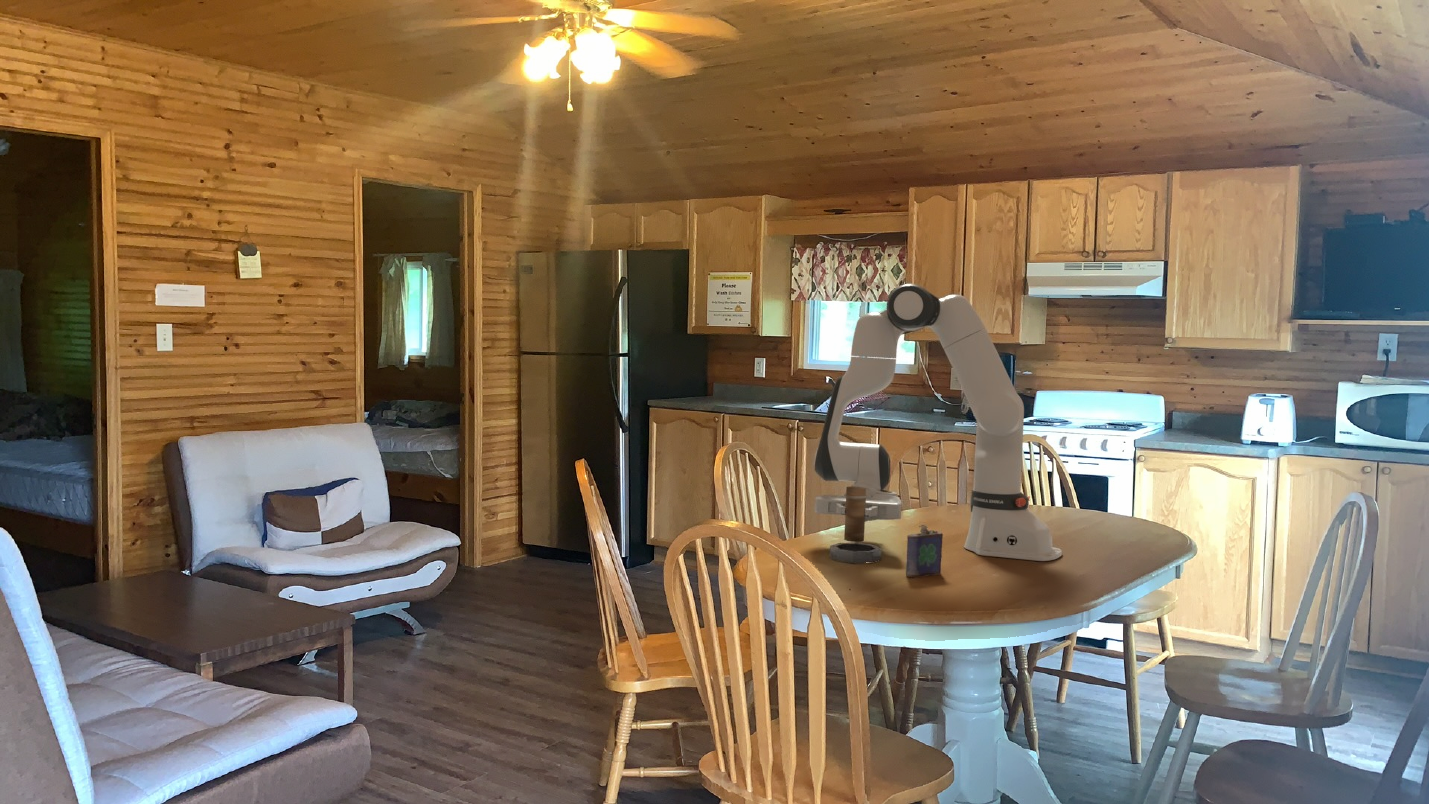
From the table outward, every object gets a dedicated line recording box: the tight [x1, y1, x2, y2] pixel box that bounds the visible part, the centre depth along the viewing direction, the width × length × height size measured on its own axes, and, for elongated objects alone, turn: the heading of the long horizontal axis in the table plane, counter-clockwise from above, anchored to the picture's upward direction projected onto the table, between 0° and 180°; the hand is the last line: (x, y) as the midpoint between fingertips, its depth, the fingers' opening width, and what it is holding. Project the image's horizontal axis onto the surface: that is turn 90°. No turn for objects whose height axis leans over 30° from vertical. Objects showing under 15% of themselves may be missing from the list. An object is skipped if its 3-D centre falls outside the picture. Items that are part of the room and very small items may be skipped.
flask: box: [905, 524, 944, 578], centre depth 228 cm, size 9×3×11 cm, turn 121°
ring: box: [829, 542, 882, 564], centre depth 244 cm, size 11×11×2 cm
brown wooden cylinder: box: [843, 485, 866, 543], centre depth 243 cm, size 5×5×12 cm
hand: (854, 512), depth 242 cm, fingers closed on brown wooden cylinder, 4 cm apart
